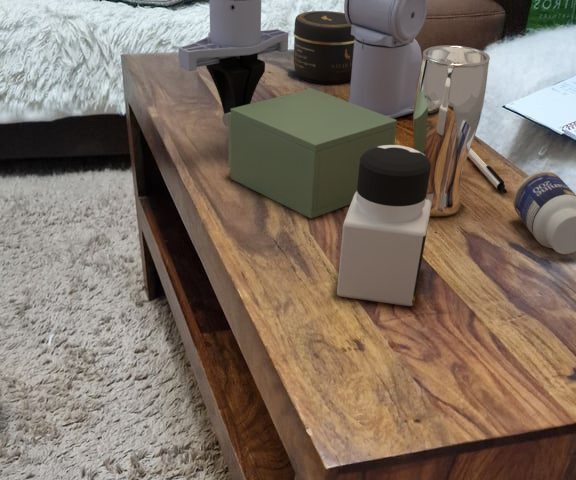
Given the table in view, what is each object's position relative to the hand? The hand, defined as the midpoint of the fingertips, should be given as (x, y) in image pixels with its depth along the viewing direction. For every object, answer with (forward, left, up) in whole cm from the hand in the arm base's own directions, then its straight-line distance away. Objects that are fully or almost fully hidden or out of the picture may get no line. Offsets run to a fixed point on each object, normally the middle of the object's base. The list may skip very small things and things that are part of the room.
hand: (235, 125), depth 94 cm
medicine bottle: (+11, +34, -3) cm, 36 cm away
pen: (-21, +21, -3) cm, 30 cm away
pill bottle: (-13, +35, 0) cm, 37 cm away
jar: (-31, -16, -3) cm, 35 cm away
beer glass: (-7, +26, -3) cm, 27 cm away
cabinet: (0, +13, -3) cm, 14 cm away
